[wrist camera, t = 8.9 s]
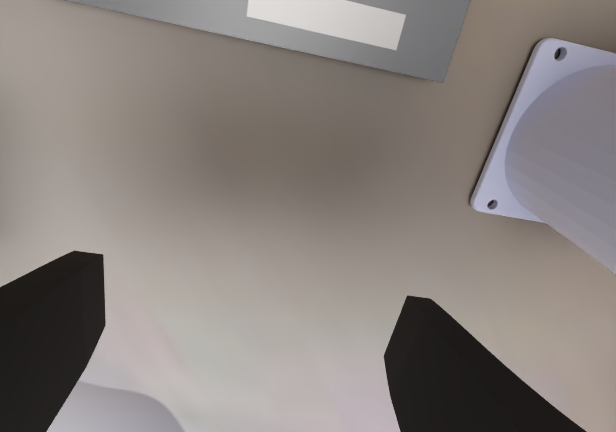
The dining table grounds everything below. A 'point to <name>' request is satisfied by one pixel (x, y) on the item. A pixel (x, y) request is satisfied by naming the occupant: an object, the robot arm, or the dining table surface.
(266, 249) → the dining table surface
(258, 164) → the dining table surface
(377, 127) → the dining table surface
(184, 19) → the jack panel
